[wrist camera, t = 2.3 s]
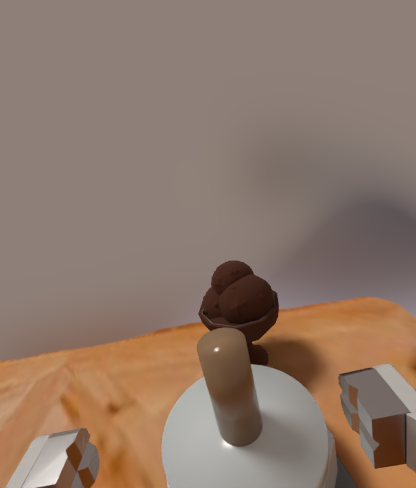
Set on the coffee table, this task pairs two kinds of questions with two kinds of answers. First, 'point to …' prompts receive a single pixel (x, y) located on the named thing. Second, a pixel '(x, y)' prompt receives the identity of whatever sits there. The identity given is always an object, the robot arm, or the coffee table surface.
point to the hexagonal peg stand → (245, 426)
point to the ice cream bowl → (241, 305)
